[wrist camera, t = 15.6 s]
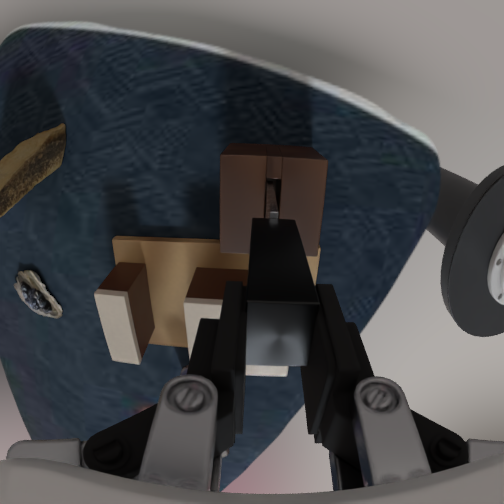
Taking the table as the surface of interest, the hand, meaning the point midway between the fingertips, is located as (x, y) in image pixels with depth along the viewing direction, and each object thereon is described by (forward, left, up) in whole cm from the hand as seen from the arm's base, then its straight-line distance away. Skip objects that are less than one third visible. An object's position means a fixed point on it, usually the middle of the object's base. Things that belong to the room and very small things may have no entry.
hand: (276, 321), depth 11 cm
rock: (+25, -3, -19) cm, 32 cm away
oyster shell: (+28, +14, -19) cm, 37 cm away
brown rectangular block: (+13, +12, -18) cm, 25 cm away
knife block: (0, 0, -19) cm, 19 cm away
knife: (0, 0, -12) cm, 12 cm away
